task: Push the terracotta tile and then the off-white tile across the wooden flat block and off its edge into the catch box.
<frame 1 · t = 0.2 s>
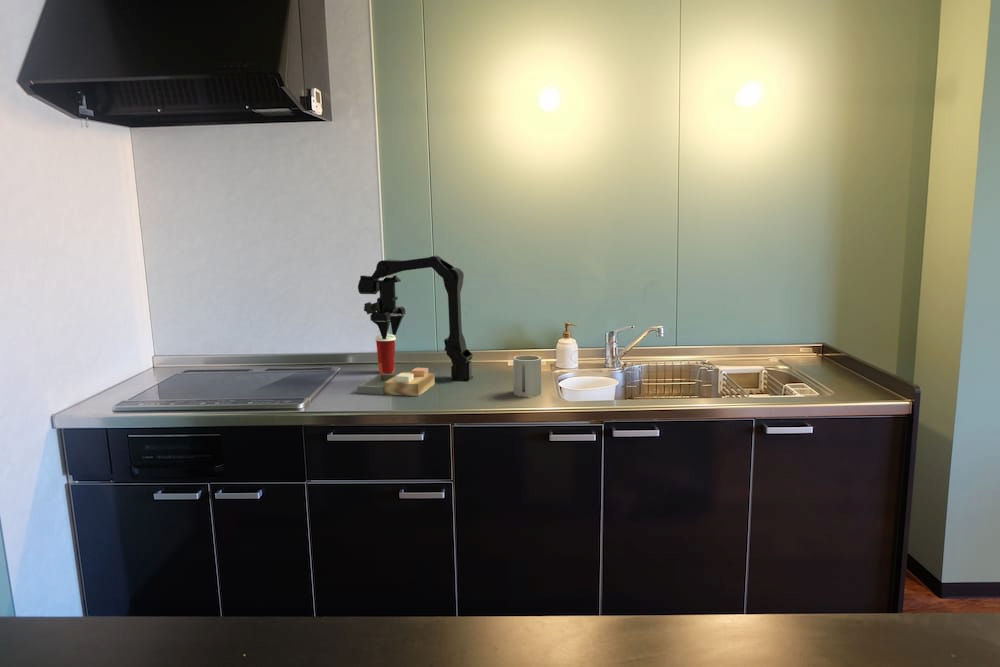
hand: (389, 336, 251), 14 cm above the counter, fingers open, 9 cm apart
cup: (527, 394, 227), on the counter
off-white tile: (404, 380, 229), point 4 cm above the counter, touching wooden flat block
paper cup: (386, 372, 259), on the counter
wooden flat block: (410, 389, 234), on the counter
catch box: (382, 387, 236), on the counter
terracotta tile: (420, 374, 237), point 4 cm above the counter, touching wooden flat block
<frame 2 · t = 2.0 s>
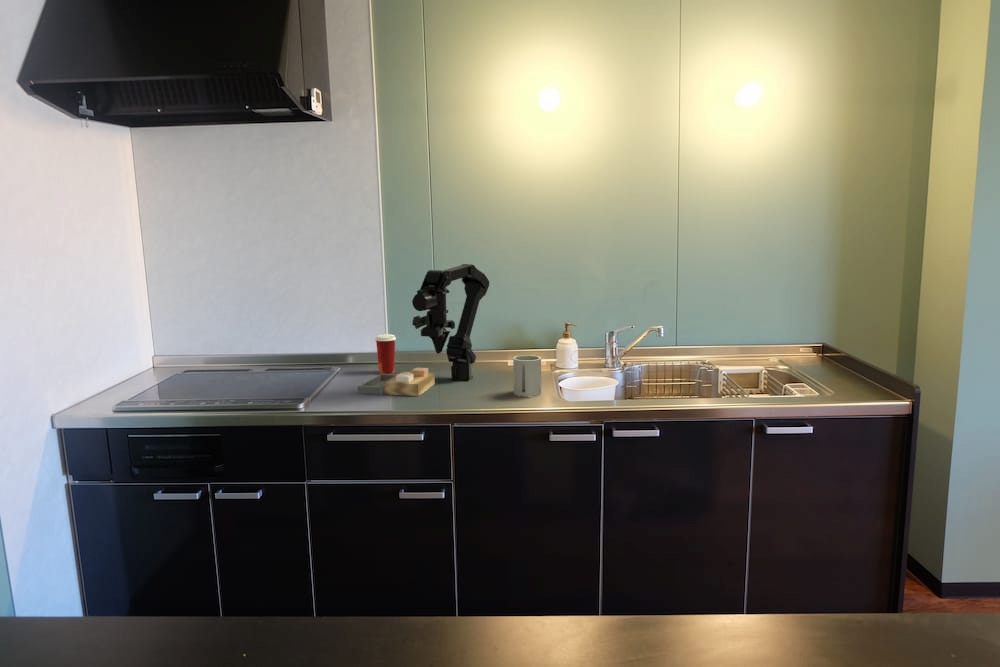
hand: (438, 353, 234), 12 cm above the counter, fingers closed
nothing on the counter moved.
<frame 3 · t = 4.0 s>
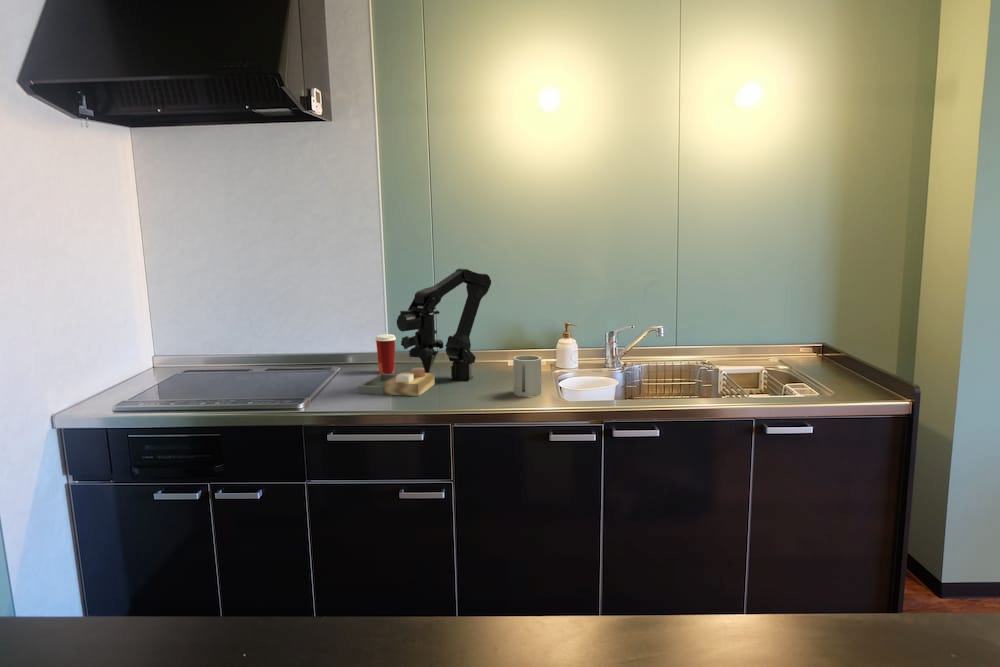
hand: (427, 372, 236), 5 cm above the counter, fingers closed, pressing on terracotta tile
terracotta tile: (419, 374, 237), point 4 cm above the counter, touching gripper
everything else where it was.
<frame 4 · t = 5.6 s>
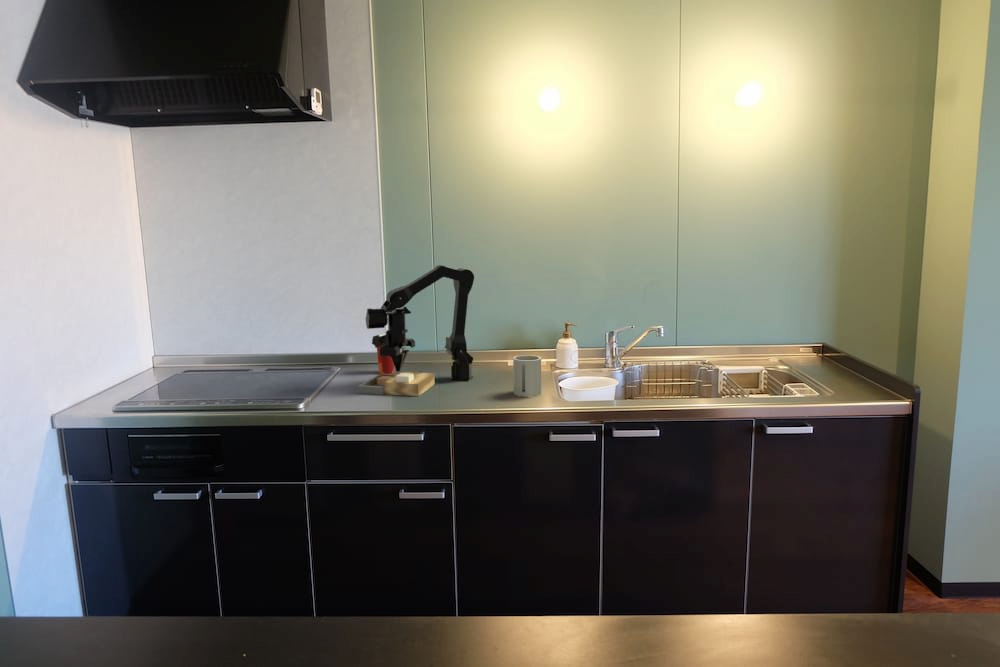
hand: (398, 371, 238), 5 cm above the counter, fingers closed
terracotta tile: (385, 377, 240), point 2 cm above the counter, tilted 180°, touching catch box
everything else where it was.
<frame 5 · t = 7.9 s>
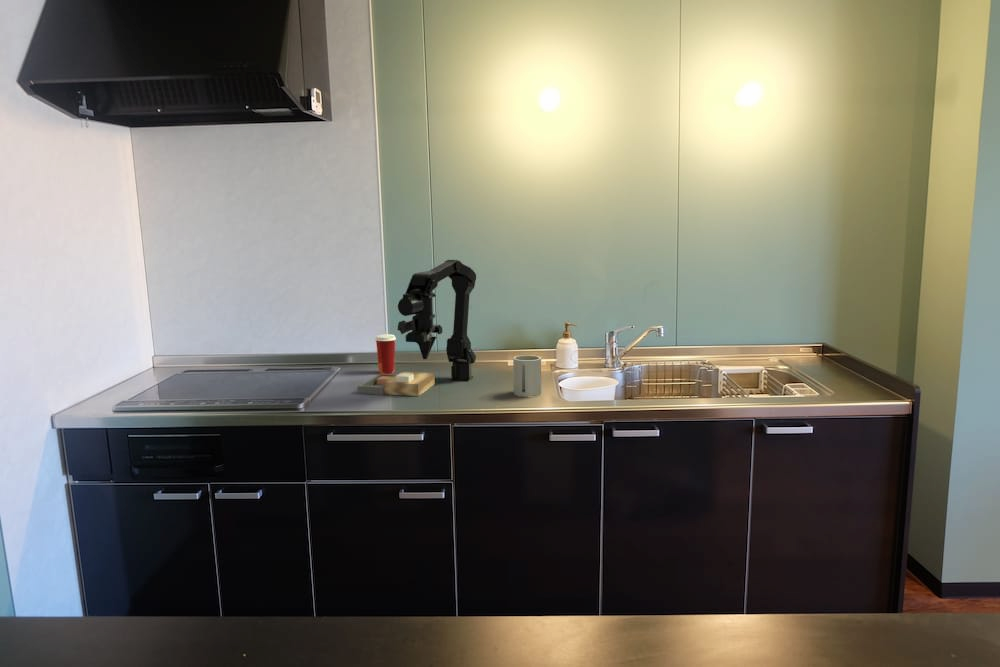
hand: (425, 359, 226), 12 cm above the counter, fingers closed
nothing on the counter moved.
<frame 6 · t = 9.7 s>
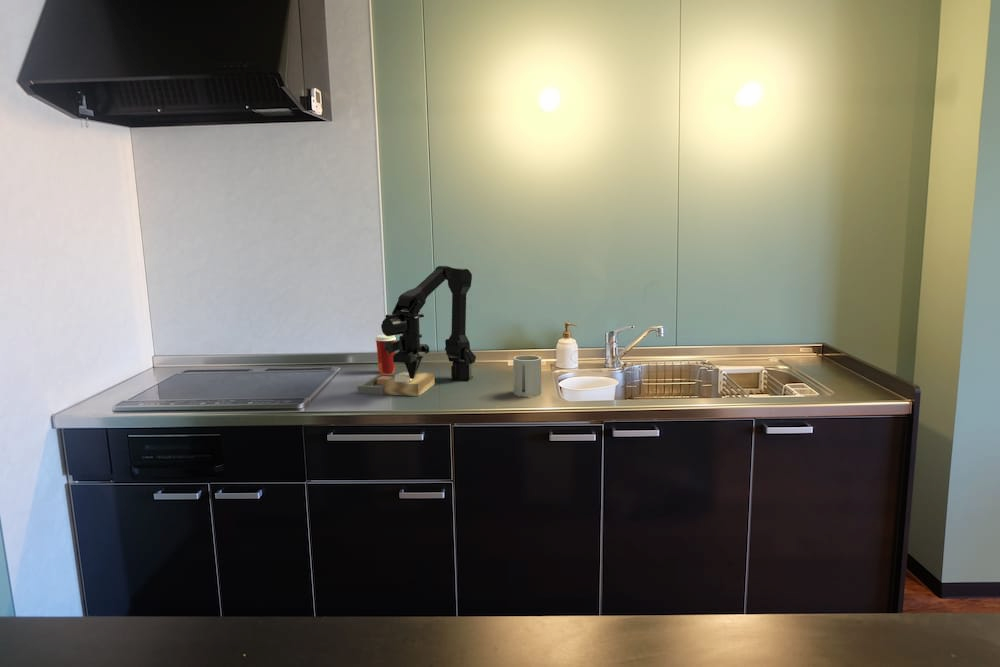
hand: (412, 378, 228), 5 cm above the counter, fingers closed, pressing on off-white tile
off-white tile: (403, 380, 229), point 4 cm above the counter, touching gripper
everything else where it was.
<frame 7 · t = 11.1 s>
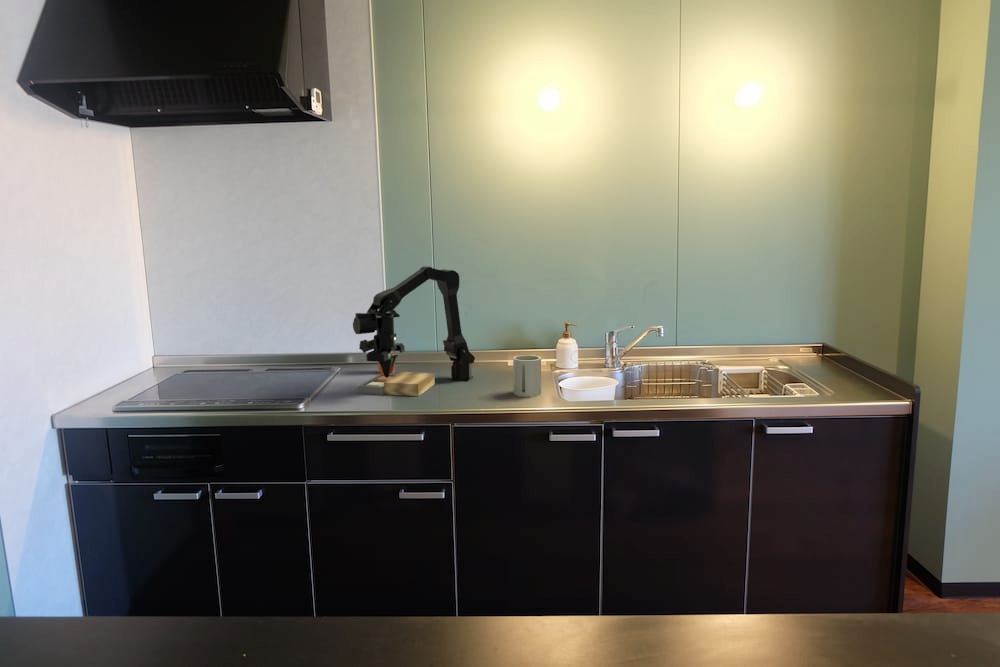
hand: (386, 377, 230), 5 cm above the counter, fingers closed
off-white tile: (375, 383, 231), point 2 cm above the counter, tilted 180°, touching catch box
everything else where it was.
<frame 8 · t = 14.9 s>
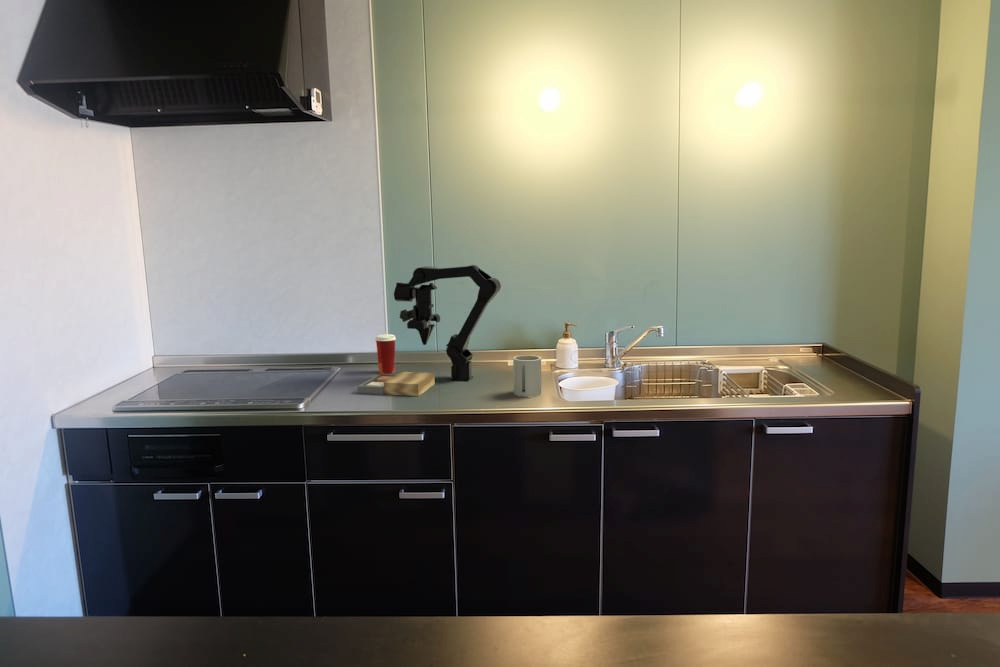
hand: (424, 344, 249), 12 cm above the counter, fingers closed
nothing on the counter moved.
at the end: terracotta tile inside the target area (4.3 cm from its centre), point 2.4 cm above the counter; off-white tile inside the target area (4.5 cm from its centre), point 2.4 cm above the counter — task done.
